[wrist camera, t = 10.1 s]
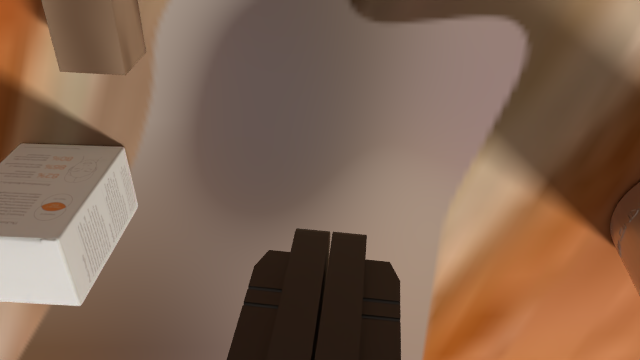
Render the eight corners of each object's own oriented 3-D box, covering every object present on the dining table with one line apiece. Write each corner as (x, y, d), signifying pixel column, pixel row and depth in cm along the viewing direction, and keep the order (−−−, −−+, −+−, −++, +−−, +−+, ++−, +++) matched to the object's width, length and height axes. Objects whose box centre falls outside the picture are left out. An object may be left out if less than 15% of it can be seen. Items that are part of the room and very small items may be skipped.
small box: (42, 201, 45) (-41, 301, 36) (20, 140, 41) (-77, 233, 33) (141, 207, 44) (81, 310, 35) (126, 144, 41) (57, 241, 32)
